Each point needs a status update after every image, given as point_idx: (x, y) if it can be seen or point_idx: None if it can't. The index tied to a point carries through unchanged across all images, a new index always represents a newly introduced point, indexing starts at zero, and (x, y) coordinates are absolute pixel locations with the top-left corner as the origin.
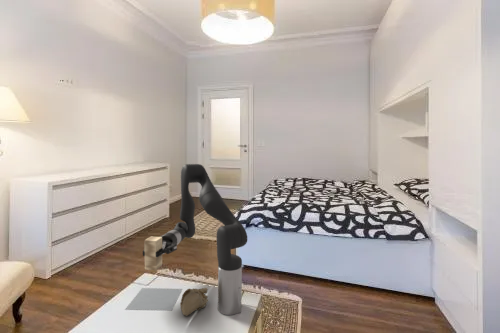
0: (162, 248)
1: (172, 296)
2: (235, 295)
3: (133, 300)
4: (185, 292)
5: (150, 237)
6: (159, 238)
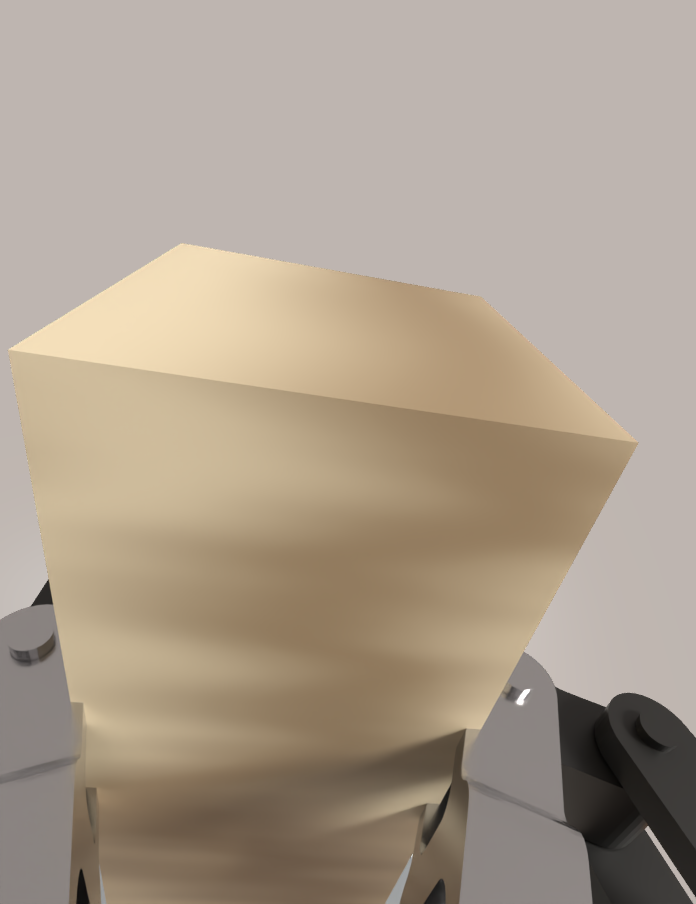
0: (51, 609)
1: None
2: None
3: (404, 878)
4: None
5: (515, 365)
6: (127, 295)
